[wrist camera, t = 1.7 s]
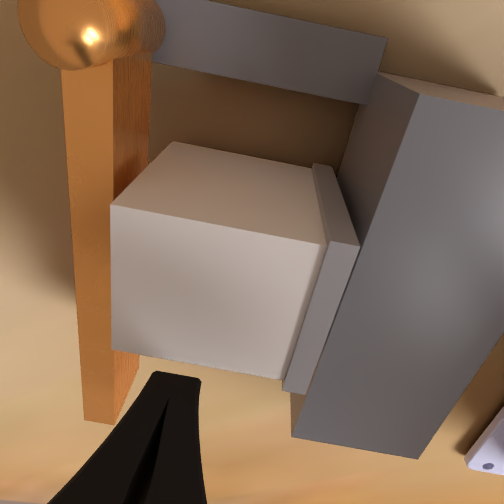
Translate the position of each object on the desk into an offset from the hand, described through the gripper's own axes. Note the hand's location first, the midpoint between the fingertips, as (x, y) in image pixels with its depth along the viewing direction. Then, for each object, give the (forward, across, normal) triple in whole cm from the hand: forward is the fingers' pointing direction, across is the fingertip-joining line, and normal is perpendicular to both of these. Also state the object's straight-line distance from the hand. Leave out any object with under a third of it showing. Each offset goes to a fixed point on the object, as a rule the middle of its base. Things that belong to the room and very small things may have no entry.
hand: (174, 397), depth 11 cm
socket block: (+5, -2, -5) cm, 7 cm away
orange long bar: (+3, +2, -4) cm, 6 cm away
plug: (+4, -2, -4) cm, 6 cm away
